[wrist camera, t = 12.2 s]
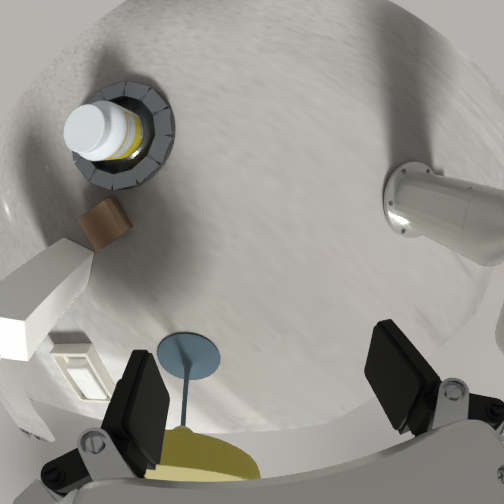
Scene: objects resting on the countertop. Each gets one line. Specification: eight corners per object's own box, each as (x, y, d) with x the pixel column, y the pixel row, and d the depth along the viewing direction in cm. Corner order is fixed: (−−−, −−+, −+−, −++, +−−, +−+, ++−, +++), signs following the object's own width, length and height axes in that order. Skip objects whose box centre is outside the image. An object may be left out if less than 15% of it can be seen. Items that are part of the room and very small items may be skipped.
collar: (170, 72, 28) (167, 68, 26) (182, 177, 33) (180, 178, 31) (73, 102, 27) (66, 100, 25) (85, 199, 32) (78, 201, 30)
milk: (58, 269, 35) (-24, 351, 14) (64, 236, 33) (-34, 307, 13) (88, 285, 36) (15, 381, 16) (95, 251, 35) (7, 340, 14)
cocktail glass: (141, 301, 38) (87, 442, 15) (254, 326, 42) (288, 470, 19) (135, 379, 43) (110, 494, 20) (227, 397, 47) (239, 512, 24)
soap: (111, 389, 43) (107, 400, 40) (90, 389, 43) (86, 399, 40) (90, 357, 40) (84, 367, 37) (69, 357, 40) (63, 367, 37)
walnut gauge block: (115, 195, 33) (104, 199, 29) (132, 225, 34) (123, 234, 31) (89, 213, 33) (77, 220, 29) (106, 242, 35) (96, 252, 31)
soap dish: (92, 343, 40) (86, 353, 37) (120, 392, 44) (116, 403, 42) (55, 343, 39) (49, 353, 36) (84, 391, 44) (80, 401, 41)
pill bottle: (95, 127, 29) (48, 120, 18) (135, 102, 28) (100, 81, 17) (112, 168, 31) (69, 175, 20) (153, 144, 31) (123, 138, 20)
